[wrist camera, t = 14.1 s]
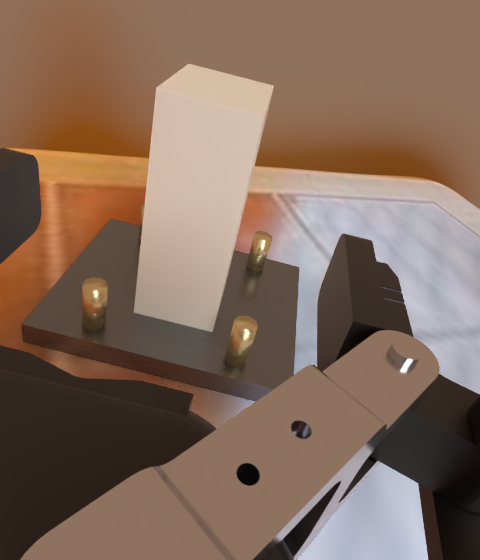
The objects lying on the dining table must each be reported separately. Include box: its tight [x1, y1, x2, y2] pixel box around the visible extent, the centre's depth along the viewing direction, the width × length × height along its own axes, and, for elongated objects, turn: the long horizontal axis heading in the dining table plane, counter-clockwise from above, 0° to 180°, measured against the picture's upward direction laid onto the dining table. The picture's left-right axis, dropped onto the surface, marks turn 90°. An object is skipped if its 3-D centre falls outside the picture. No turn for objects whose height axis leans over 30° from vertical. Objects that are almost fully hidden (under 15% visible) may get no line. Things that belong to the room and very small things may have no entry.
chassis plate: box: [22, 203, 299, 401], centre depth 27 cm, size 14×12×4 cm
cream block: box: [134, 64, 274, 332], centre depth 24 cm, size 4×6×12 cm
